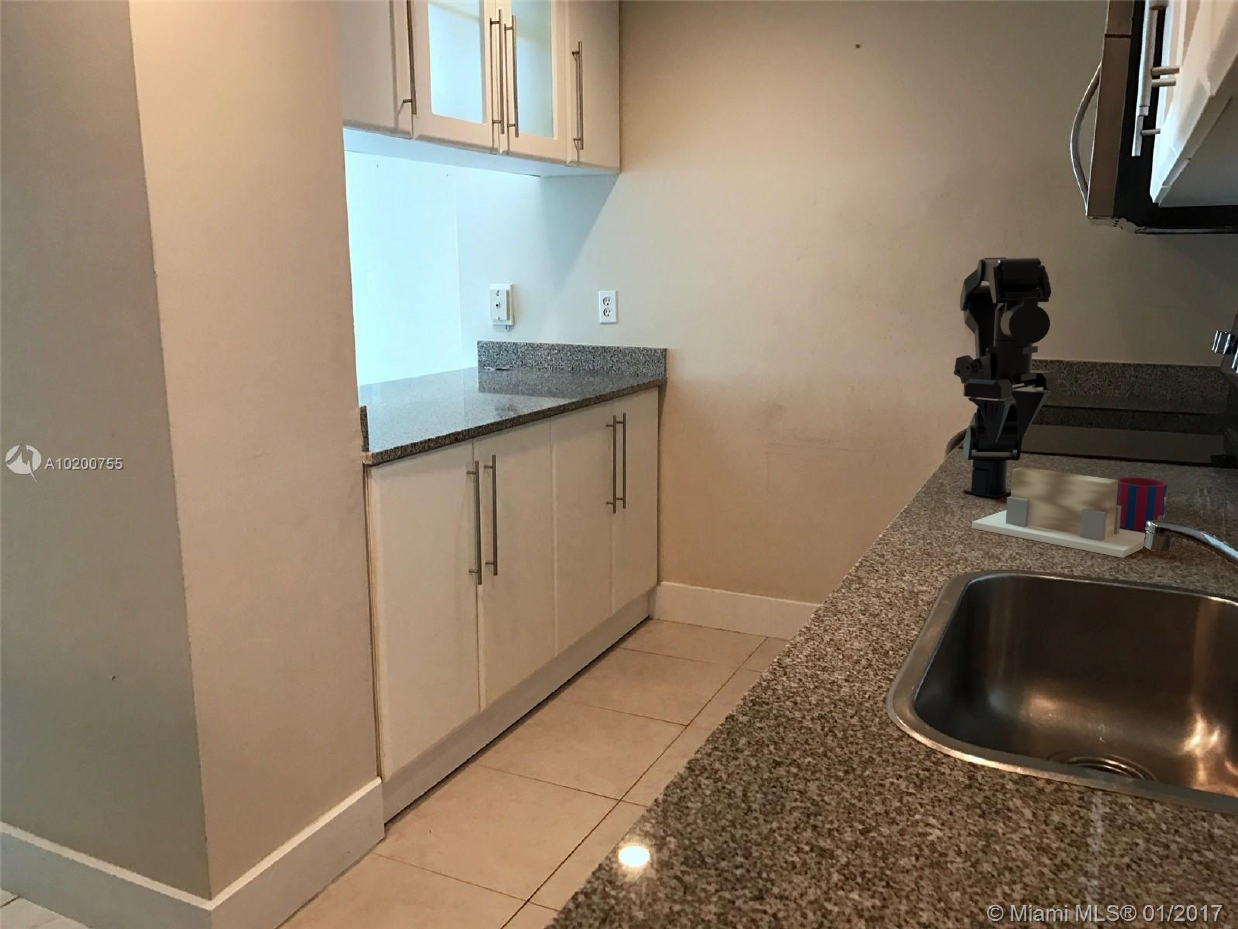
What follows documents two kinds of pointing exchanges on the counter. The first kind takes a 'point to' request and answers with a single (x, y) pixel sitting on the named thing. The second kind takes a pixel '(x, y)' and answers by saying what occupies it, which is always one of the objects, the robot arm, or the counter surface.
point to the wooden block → (1064, 498)
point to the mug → (1140, 501)
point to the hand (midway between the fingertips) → (1007, 437)
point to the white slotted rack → (1088, 539)
